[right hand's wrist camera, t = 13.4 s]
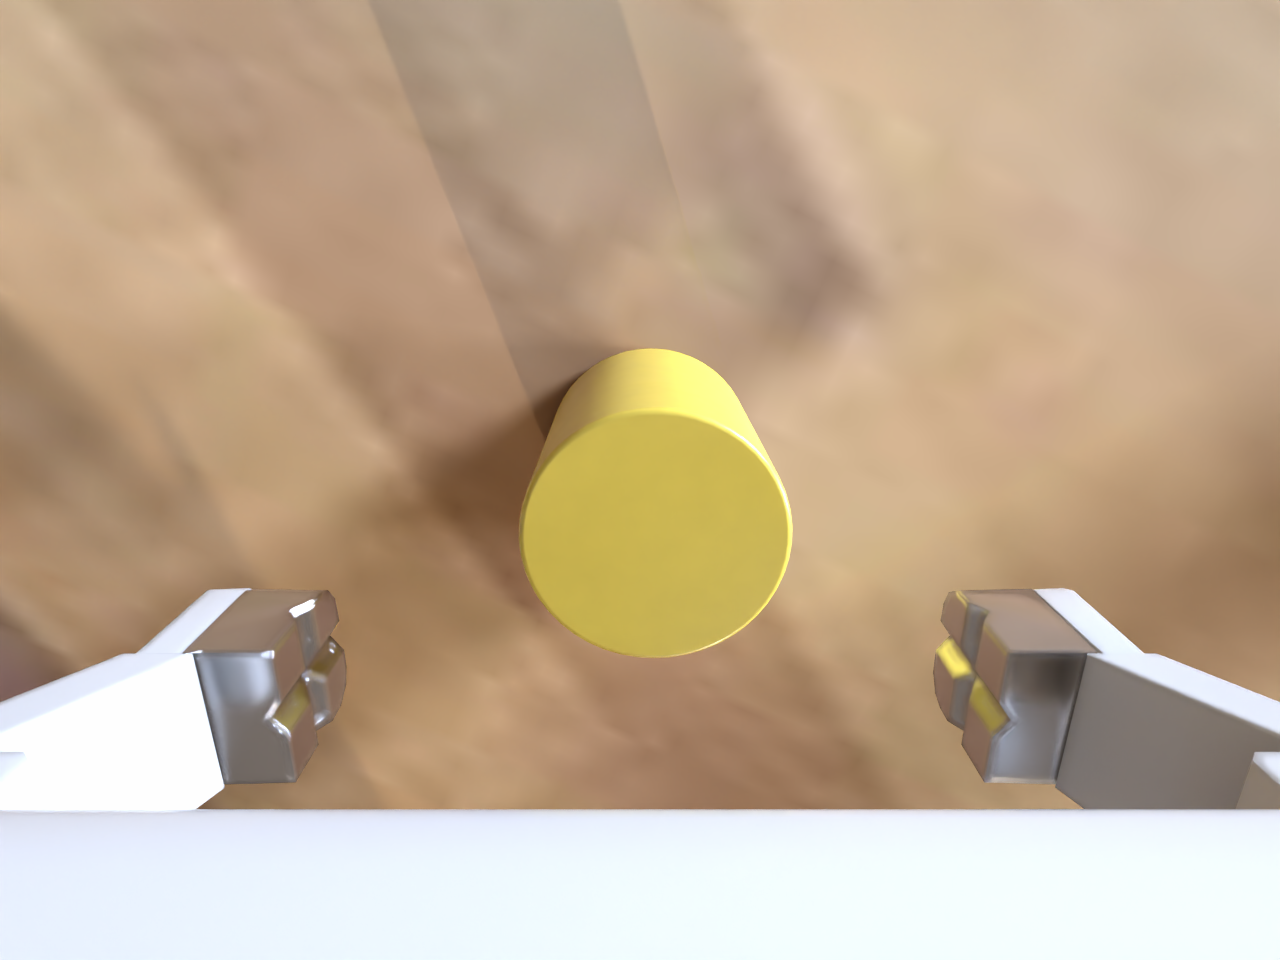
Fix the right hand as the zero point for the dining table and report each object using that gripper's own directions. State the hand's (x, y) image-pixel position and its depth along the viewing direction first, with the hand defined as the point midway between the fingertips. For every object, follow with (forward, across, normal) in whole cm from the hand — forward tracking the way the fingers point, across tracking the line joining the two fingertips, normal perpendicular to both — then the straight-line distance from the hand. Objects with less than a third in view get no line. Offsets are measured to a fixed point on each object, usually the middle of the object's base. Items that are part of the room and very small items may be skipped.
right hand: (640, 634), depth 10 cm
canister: (+6, 0, -1) cm, 6 cm away
